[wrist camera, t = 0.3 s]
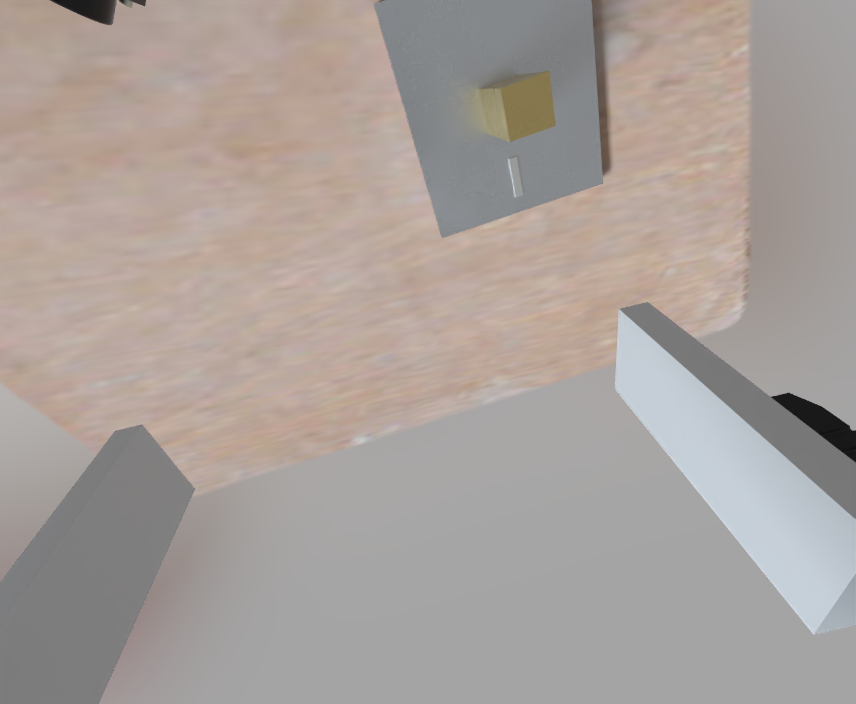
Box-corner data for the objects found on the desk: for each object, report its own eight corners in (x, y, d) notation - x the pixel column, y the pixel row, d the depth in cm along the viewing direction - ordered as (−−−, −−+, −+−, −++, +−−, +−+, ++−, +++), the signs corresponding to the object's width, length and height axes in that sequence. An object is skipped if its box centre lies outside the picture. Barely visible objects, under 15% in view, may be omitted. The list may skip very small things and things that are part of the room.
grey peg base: (374, 7, 27) (374, -17, 21) (578, -71, 27) (639, -120, 20) (440, 233, 36) (453, 262, 30) (596, 180, 35) (642, 199, 29)
